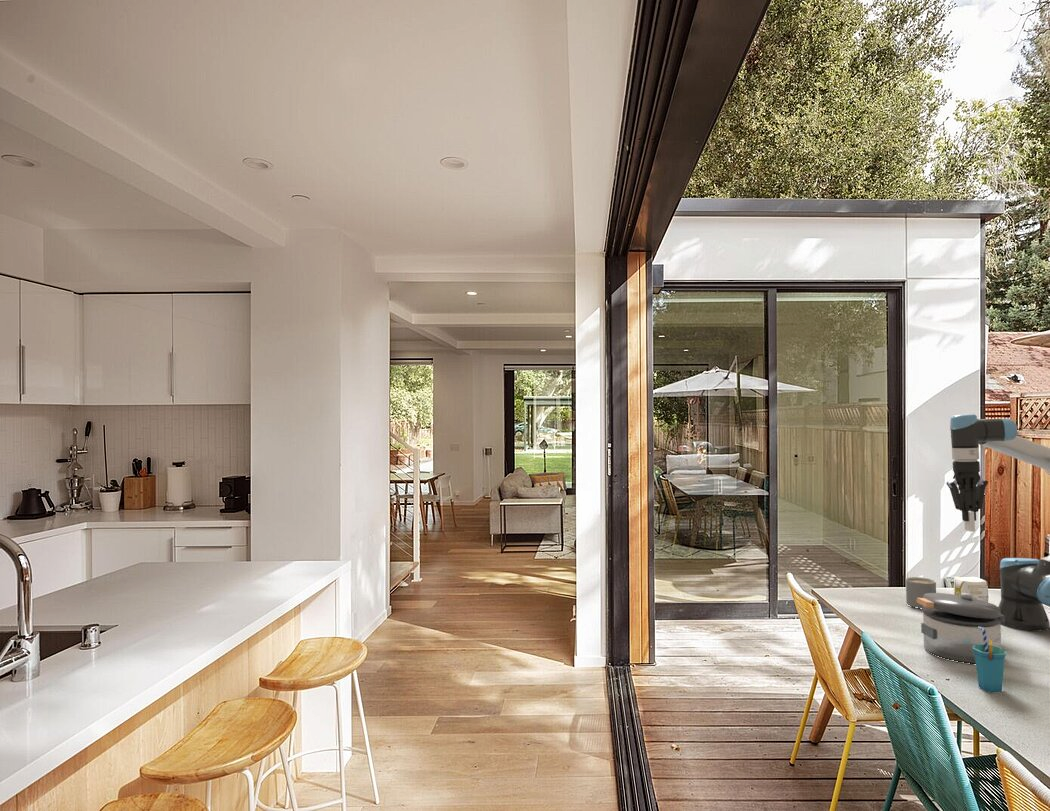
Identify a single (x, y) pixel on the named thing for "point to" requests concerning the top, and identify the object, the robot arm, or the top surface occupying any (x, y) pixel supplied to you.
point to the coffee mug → (918, 589)
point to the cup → (989, 665)
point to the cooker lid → (960, 605)
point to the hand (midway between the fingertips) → (970, 530)
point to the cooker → (957, 634)
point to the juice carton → (971, 587)
